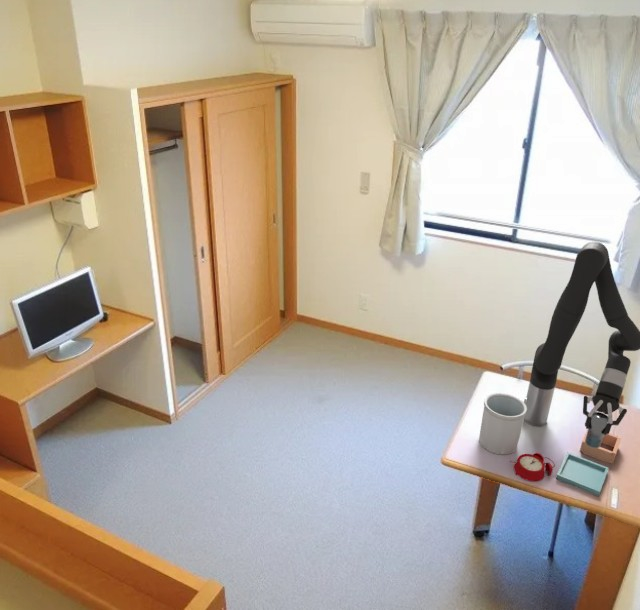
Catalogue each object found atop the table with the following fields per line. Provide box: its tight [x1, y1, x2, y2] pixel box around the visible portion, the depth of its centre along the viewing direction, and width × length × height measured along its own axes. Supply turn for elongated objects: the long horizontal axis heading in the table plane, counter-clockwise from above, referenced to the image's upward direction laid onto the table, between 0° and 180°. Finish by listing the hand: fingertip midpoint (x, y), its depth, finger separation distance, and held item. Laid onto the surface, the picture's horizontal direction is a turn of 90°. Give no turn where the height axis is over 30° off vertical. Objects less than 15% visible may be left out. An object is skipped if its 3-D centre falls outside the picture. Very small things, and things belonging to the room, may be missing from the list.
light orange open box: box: [579, 429, 622, 464], centre depth 217 cm, size 11×11×4 cm
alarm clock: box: [509, 452, 556, 482], centre depth 206 cm, size 10×6×15 cm
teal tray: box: [555, 452, 610, 497], centre depth 205 cm, size 14×14×2 cm
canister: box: [585, 411, 609, 448], centre depth 197 cm, size 5×5×11 cm
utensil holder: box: [479, 392, 527, 455], centre depth 216 cm, size 15×15×18 cm
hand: (596, 431), depth 196 cm, fingers closed on canister, 5 cm apart
